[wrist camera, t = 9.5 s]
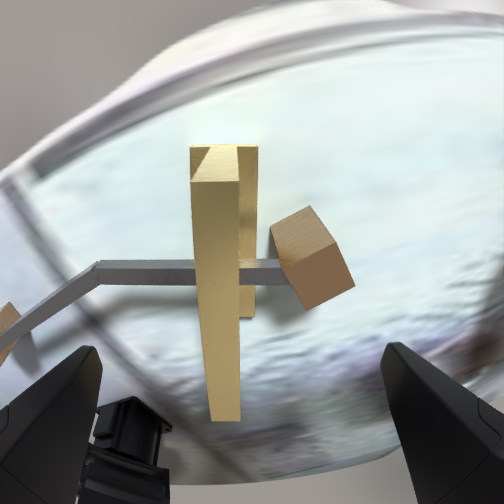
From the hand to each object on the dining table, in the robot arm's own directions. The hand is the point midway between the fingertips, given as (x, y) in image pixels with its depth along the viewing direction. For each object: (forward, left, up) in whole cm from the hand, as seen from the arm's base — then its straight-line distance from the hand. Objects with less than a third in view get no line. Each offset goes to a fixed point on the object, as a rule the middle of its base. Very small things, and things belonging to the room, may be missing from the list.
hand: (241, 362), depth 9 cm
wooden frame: (-1, +1, -13) cm, 14 cm away
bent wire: (0, +11, -13) cm, 17 cm away
